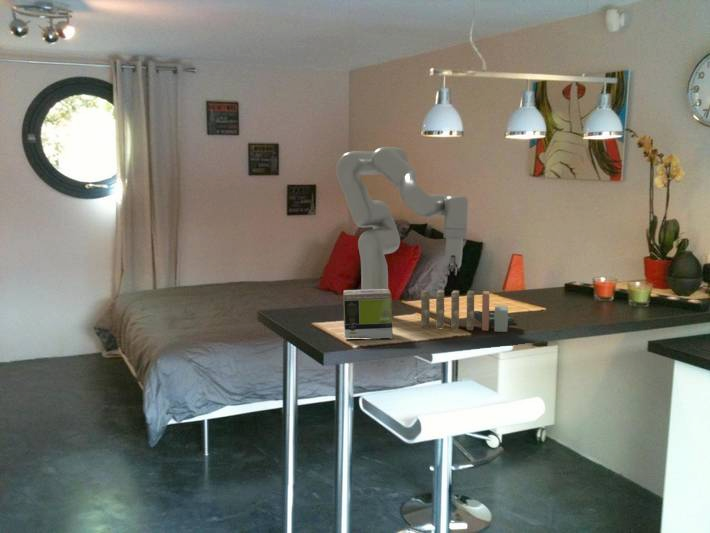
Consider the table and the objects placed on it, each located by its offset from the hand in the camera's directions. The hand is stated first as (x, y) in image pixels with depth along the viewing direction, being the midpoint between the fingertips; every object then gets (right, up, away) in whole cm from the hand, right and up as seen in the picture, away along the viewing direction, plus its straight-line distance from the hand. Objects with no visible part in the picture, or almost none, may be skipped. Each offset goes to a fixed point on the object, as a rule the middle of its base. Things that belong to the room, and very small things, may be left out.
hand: (453, 284), depth 238 cm
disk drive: (+15, -13, +11) cm, 23 cm away
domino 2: (-4, -14, +3) cm, 15 cm away
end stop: (+15, -15, -2) cm, 21 cm away
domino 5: (+11, -14, -1) cm, 18 cm away
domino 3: (+1, -14, +1) cm, 14 cm away
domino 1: (-9, -14, +4) cm, 17 cm away
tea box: (-29, -17, -10) cm, 35 cm away
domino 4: (+6, -14, 0) cm, 15 cm away
